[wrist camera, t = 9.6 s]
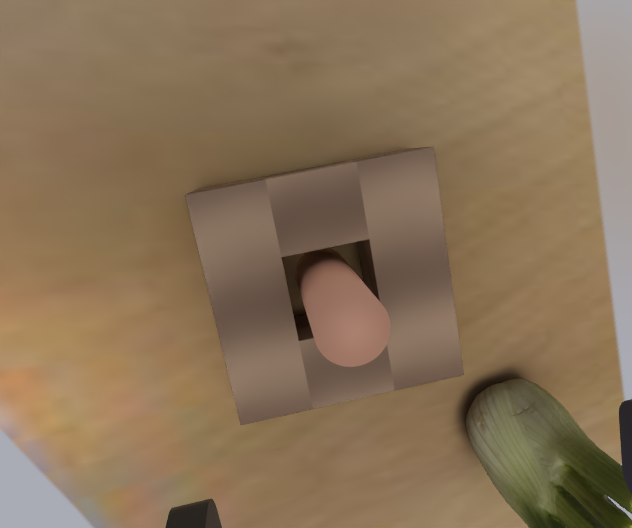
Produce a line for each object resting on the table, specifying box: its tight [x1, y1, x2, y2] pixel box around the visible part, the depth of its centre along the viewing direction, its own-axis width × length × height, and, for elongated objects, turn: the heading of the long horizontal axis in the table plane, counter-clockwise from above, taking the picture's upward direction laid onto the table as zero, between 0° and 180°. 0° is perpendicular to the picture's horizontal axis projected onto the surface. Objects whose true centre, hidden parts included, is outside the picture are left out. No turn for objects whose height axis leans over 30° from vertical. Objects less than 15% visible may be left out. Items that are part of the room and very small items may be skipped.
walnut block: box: [185, 147, 464, 425], centre depth 27 cm, size 12×12×4 cm
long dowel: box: [296, 248, 391, 367], centre depth 25 cm, size 3×3×10 cm
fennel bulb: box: [466, 379, 632, 528], centre depth 27 cm, size 6×5×12 cm
